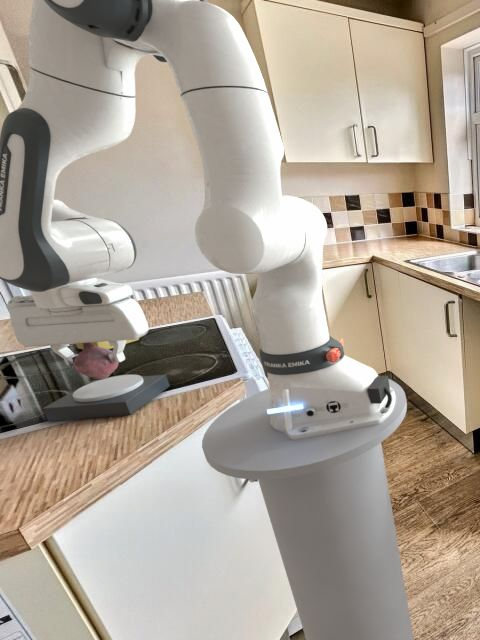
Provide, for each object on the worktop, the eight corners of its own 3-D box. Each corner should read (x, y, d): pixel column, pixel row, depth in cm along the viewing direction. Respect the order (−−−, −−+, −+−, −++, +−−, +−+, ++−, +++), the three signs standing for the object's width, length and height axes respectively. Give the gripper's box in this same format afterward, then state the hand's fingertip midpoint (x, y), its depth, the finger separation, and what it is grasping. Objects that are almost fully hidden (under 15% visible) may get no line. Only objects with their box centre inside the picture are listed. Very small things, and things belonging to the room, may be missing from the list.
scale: (170, 386, 91) (164, 371, 89) (130, 414, 80) (123, 398, 78) (98, 391, 89) (92, 376, 88) (48, 421, 78) (39, 404, 77)
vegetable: (75, 384, 81) (53, 335, 77) (114, 371, 86) (95, 325, 83) (92, 389, 79) (71, 339, 75) (131, 375, 84) (112, 328, 80)
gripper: (-15, 301, 72) (21, 374, 77) (116, 294, 74) (142, 365, 79) (20, 292, 78) (51, 360, 83) (140, 285, 80) (164, 352, 85)
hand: (97, 362), depth 81 cm, fingers closed on vegetable, 6 cm apart
